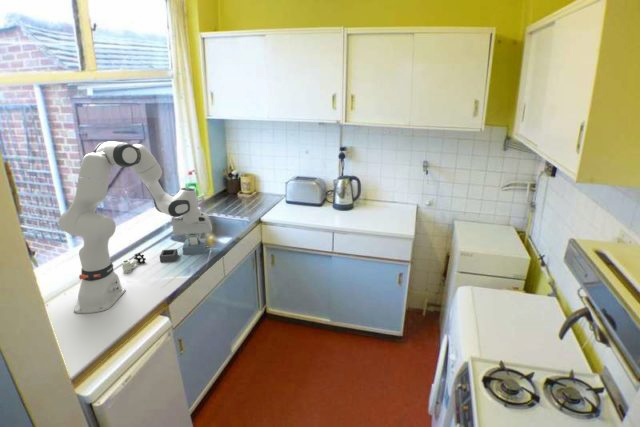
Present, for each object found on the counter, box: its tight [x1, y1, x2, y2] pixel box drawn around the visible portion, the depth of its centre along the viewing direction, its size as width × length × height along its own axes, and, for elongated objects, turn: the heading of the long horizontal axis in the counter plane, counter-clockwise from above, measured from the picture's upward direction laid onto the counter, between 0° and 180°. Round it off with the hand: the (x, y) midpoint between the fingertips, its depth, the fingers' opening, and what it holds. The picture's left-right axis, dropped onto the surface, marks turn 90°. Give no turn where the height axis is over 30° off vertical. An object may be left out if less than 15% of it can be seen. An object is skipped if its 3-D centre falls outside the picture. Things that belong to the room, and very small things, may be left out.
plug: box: [188, 233, 199, 245], centre depth 213 cm, size 4×4×9 cm
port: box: [181, 237, 208, 256], centre depth 214 cm, size 11×11×5 cm
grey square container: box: [159, 248, 179, 263], centre depth 204 cm, size 7×7×4 cm
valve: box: [121, 252, 147, 274], centre depth 195 cm, size 7×7×12 cm
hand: (194, 240), depth 213 cm, fingers closed on plug, 4 cm apart
